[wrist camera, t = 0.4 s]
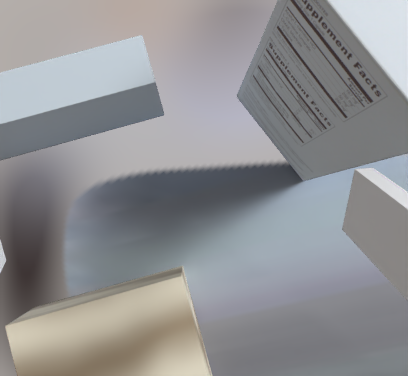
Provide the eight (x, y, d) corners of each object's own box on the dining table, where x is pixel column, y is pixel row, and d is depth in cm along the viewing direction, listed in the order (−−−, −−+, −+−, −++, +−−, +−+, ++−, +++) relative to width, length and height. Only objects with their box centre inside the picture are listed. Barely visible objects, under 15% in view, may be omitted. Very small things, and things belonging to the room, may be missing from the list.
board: (164, 115, 31) (155, 82, 23) (-6, 161, 30) (-77, 144, 22) (154, 80, 31) (142, 35, 23) (-16, 125, 30) (-90, 96, 22)
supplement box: (302, 184, 31) (437, 155, 14) (232, 96, 31) (283, -37, 14) (390, 114, 31) (621, 5, 15) (321, 28, 32) (471, -177, 15)
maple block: (212, 375, 30) (216, 408, 25) (64, 419, 29) (38, 462, 24) (182, 264, 30) (181, 276, 25) (35, 306, 30) (5, 325, 25)
